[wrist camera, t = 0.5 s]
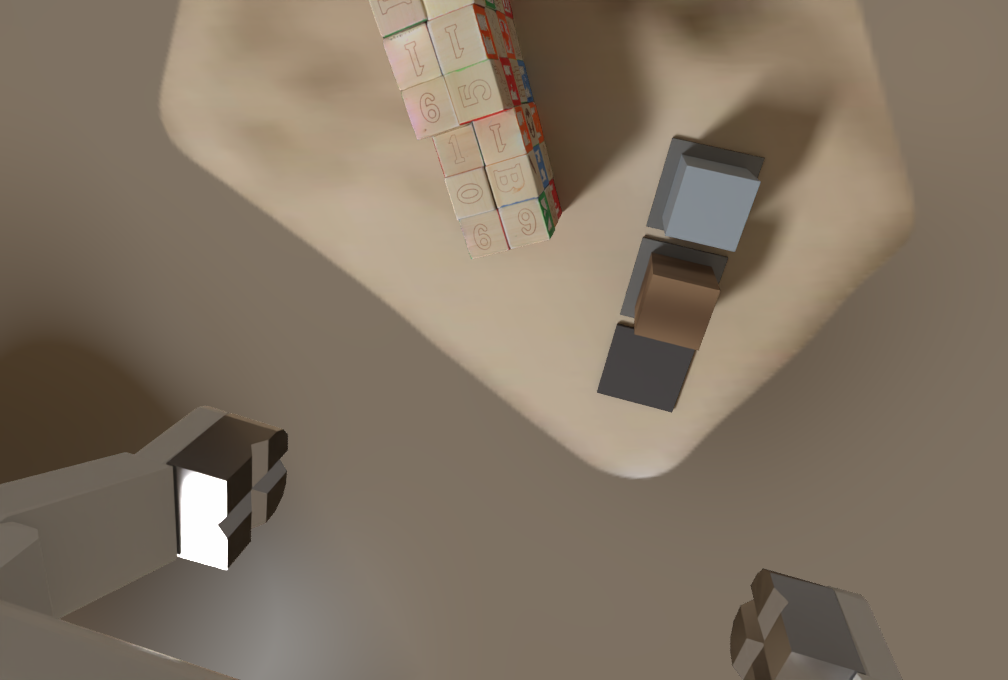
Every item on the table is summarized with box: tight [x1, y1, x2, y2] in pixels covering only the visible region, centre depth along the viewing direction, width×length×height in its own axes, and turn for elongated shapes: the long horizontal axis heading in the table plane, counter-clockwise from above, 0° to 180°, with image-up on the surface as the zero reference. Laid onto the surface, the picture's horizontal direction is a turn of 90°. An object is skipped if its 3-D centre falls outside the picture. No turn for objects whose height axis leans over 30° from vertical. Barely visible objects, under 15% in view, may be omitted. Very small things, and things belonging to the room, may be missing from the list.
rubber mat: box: [597, 324, 695, 412], centre depth 55 cm, size 7×7×1 cm
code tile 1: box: [620, 237, 728, 318], centre depth 51 cm, size 7×7×1 cm
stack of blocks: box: [369, 0, 562, 259], centre depth 43 cm, size 21×6×12 cm, turn 17°
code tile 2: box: [646, 138, 765, 230], centre depth 48 cm, size 7×7×1 cm
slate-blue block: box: [662, 154, 761, 252], centre depth 45 cm, size 5×5×6 cm
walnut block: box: [634, 252, 720, 351], centre depth 49 cm, size 5×5×6 cm
